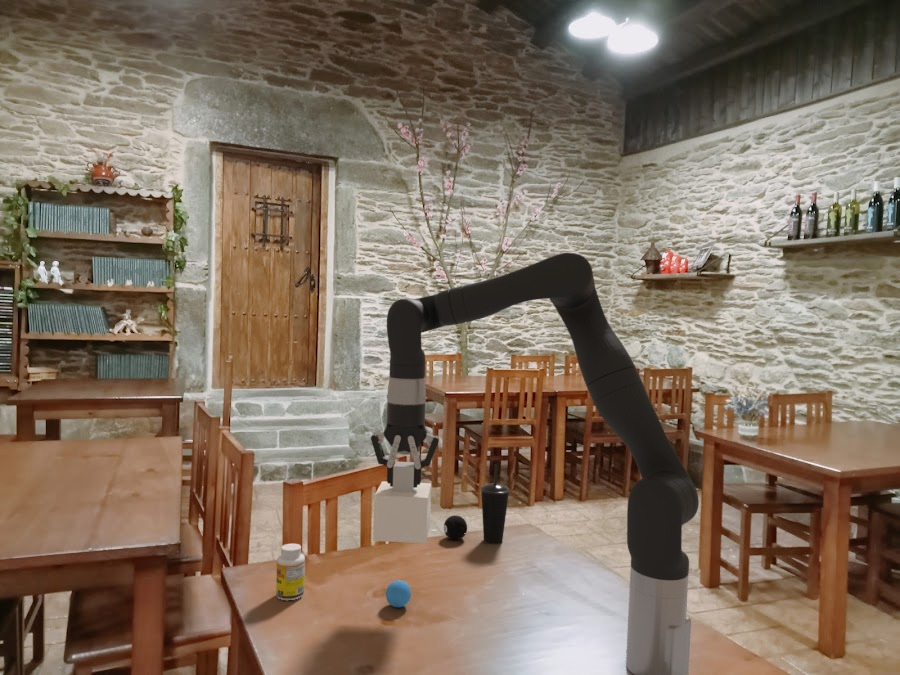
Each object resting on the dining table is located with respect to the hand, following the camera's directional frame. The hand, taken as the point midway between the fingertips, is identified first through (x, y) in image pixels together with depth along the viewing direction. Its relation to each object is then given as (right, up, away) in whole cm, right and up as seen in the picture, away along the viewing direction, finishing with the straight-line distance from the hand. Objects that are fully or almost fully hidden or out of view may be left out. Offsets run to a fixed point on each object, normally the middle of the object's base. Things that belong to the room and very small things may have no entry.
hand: (403, 485), depth 126 cm
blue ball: (-1, -22, 0) cm, 22 cm away
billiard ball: (+10, -23, +39) cm, 46 cm away
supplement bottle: (-23, -23, +3) cm, 33 cm away
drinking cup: (+20, -23, +38) cm, 49 cm away
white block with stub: (0, -10, 0) cm, 10 cm away
